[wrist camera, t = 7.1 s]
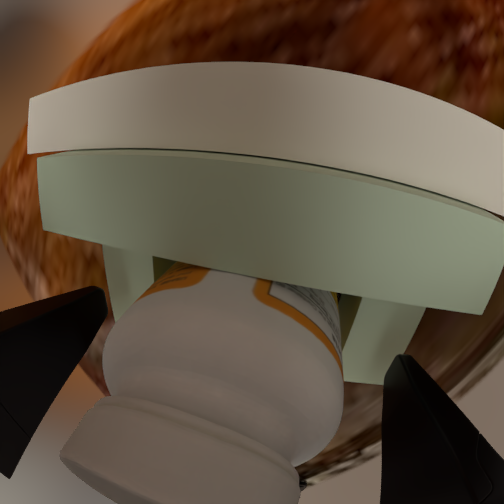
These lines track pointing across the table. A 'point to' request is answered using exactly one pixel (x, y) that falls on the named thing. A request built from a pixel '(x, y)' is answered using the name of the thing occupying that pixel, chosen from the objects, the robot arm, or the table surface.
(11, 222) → the table surface
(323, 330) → the supplement bottle
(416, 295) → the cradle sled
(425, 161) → the backstop wall
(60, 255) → the table surface
